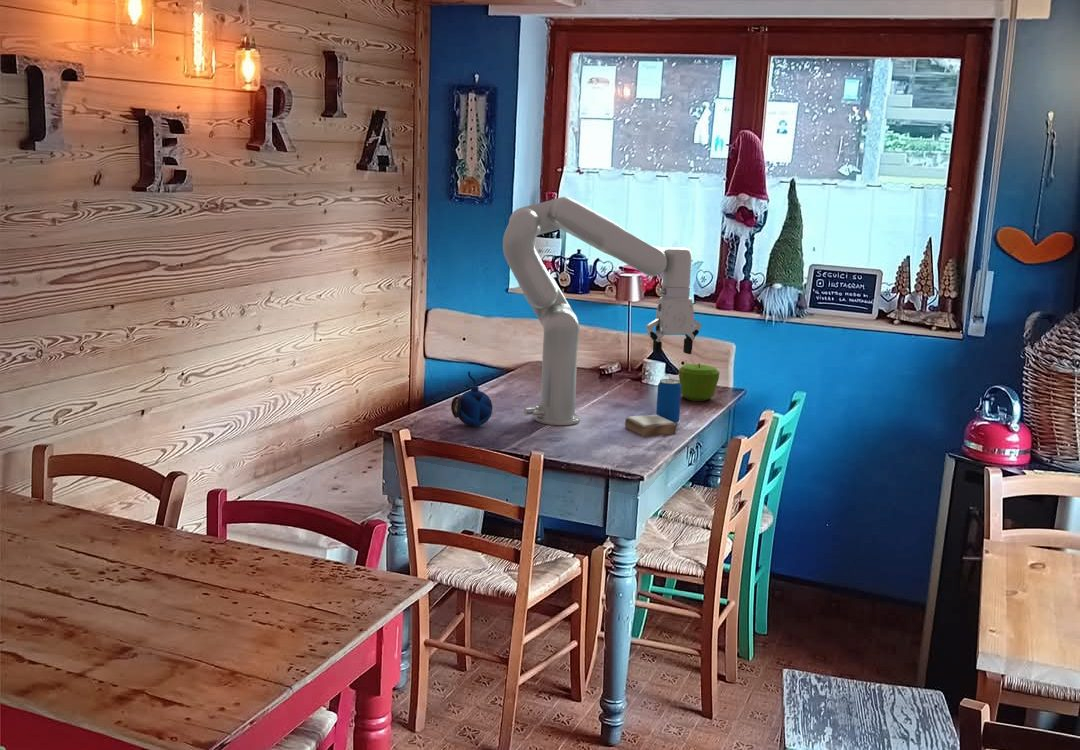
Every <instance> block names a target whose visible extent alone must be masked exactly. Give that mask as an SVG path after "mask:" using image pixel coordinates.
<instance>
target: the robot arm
mask: <svg viewBox="0 0 1080 750" xmlns="http://www.w3.org/2000/svg"><path fill="white" fill-rule="evenodd" d="M557 230H561V231H564V232H565V233H568V234H569V235H571V236H573V237H575V238H577V239H578V240H580V241H582V242H584V243H586V244H587V245H589V246H591V247H592V248H595V249H596V250H598V251H600V252H602V253H604V254H606V255H609V256H611V257H613V258H615V259H617V260H619V261H621V262H623V263H625V264H626V265H628V266H630V267H632V268H633V269H635V270H636V271H639V272H641V273H643V274H644V275H646V276H649V277H658V276H659V275H661V274H662V286H661V288H659V289H657V292H658V294H659V295H661V297H659V300H658V303H657V308H656V314H655V319H654V320H652V321H651V322H649V323H647V324H646V325H645V329H646V332H647V335H648V336H649V337H650V339H651V341H652V351H653V355H654V356H658V357H661V356H662V348H663V342H662V341H661V340H662V339H663V337H664V336H679V335H680V336H681V335H684V336H685V338H684V339H683V350H682V351H683V353H684V354H687V355H692V351H693V341H694V340H695V339H696V336H698V334H699V332H700V330H701V328H702V324H703V323H701V322H699V321H697V320H696V319H695V310H694V303H693V298H692V297H690V295H691V294H690V291H691V290H690V289H691V276H692V275H691V273H692V256H693V254H692V250H690V248H687V247H681V246H680V247H679V246H672V247H661V246H657V245H656V246H654V245H652V244H650V243H648V242H646V241H645V240H643V239H641V238H639V237H638V236H636V235H634V234H633V233H630V232H629V231H627V230H626V229H625V228H623V227H622V226H620V225H619V224H618V223H616V222H615V221H613V220H611V219H610V218H607V217H606V216H604V215H602V214H600V213H598V212H596V211H594V210H593V209H591V208H589V206H586V205H584V204H582V203H580V202H579V201H577V200H575V199H573V198H572V197H568V196H561V197H557V198H553V199H550V200H547V201H543V202H539V203H535V204H534V203H533V204H531V205H525V206H522V207H519V208H517V209H516V210H514V211H513V212H512V213H511V215H510V216H509V219H508V224H507V226H506V228H505V232H504V234H503V237H502V251H503V255H504V258H505V260H506V261H505V262H506V263H507V265H508V266H509V269H510V270H511V272H512V274H513V276H514V278H515V280H516V281H517V283H518V285H519V286H520V288H521V290H522V292H523V293H522V294H523V296H524V298H525V299H526V301H527V302H528V304H529V306H530V307H531V309H532V311H533V313H535V315H536V317H537V319H538V321H539V322H540V324H541V326H542V328H543V341H542V342H543V343H542V357H541V358H542V360H541V386H540V387H541V389H540V392H541V393H540V403H539V402H538V403H537V404H536V405H535V406H534V407H524V408H523V413H524V415H525V416H529V415H532V416H534V420H535V421H536V422H538V423H539V424H545V425H550V426H571V425H575V424H578V423H580V421H581V416H580V415H579V414H576V413H575V412H576V392H577V391H576V390H577V389H576V388H577V370H578V369H577V366H578V364H577V363H578V347H579V338H580V322H579V319H578V316H577V315H576V313H575V312H574V311H573V309H572V307H571V305H570V304H569V302H568V301H567V298H566V296H564V294H563V292H562V290H561V288H560V287H559V285H558V283H557V281H556V279H555V278H554V276H553V275H552V274H551V273H550V272H549V271H548V269H547V267H546V265H545V264H544V263H543V260H542V259H541V256H540V255H539V253H538V251H537V249H536V246H535V243H536V242H535V241H536V238H537V236H539V235H544V234H547V233H551V232H554V231H557ZM654 328H655V332H654Z"/></svg>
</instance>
